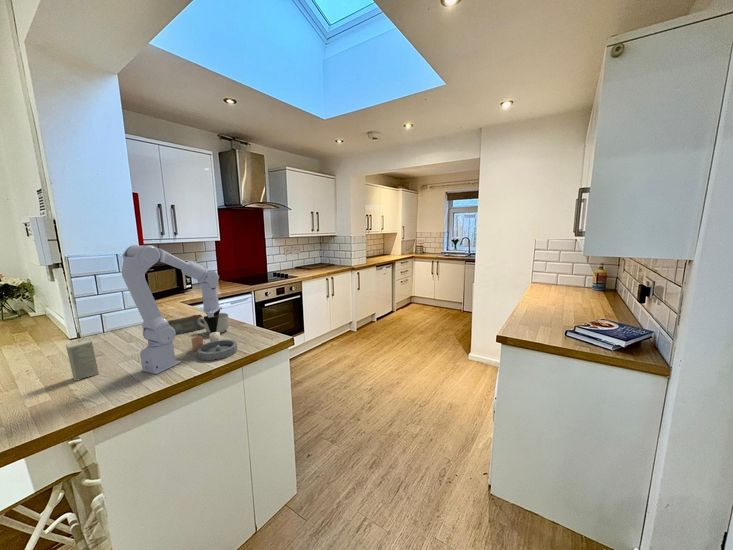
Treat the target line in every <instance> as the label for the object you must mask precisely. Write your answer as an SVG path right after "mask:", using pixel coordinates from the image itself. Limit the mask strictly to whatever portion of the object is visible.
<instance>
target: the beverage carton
mask: <svg viewBox="0 0 733 550" xmlns="http://www.w3.org/2000/svg"><path fill="white" fill-rule="evenodd" d="M201 317H203V315H202V314H194V315H193V314H192V315H191V316H186V317H182V318H177V319H171V320H170V319H169V320H167V321H168V323H169V325H170V326H171V327H173V328H174V329H175V332H176V334H177V335H181V333H182V334H186V333H190V331H191V332H194V331H199V329H200V330H203V329H204V330H205V328H204V327H202V326H200V325H199V324H198V322H197V321H198V319H199V318H201ZM200 322H201V323H202V324H203V325H205V324H204V321H203V320H202V319H201V320H200ZM176 334H175V336H177V335H176Z"/></svg>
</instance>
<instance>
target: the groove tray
mask: <svg viewBox="0 0 733 550" xmlns="http://www.w3.org/2000/svg"><path fill="white" fill-rule="evenodd" d="M236 351H237V352H238V342H237V341H236V340H234V339H229V338H228V339H227V338H225V339H221V340H216V341H212V342H210V341H209V342H206V343H203V345H202V346H200V347H199V348H198V350H197V351H196V353H197V356H198V359H199V360H202V361H205V360H211V361H216V360H215V359H218V360H221V359H220V358H223V359H225V358H224V357H226V358H228V357H227V356H229V355H231V354H233V353H234V354H236V353H237V352H236ZM235 352H236V353H235ZM234 354H233V355H234ZM231 356H232V355H231ZM229 357H230V356H229Z"/></svg>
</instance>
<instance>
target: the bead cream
mask: <svg viewBox="0 0 733 550" xmlns="http://www.w3.org/2000/svg"><path fill="white" fill-rule="evenodd" d="M208 334H209V342H212V341H216V340H222V338H221V333H220V332H213V333H208Z"/></svg>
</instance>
